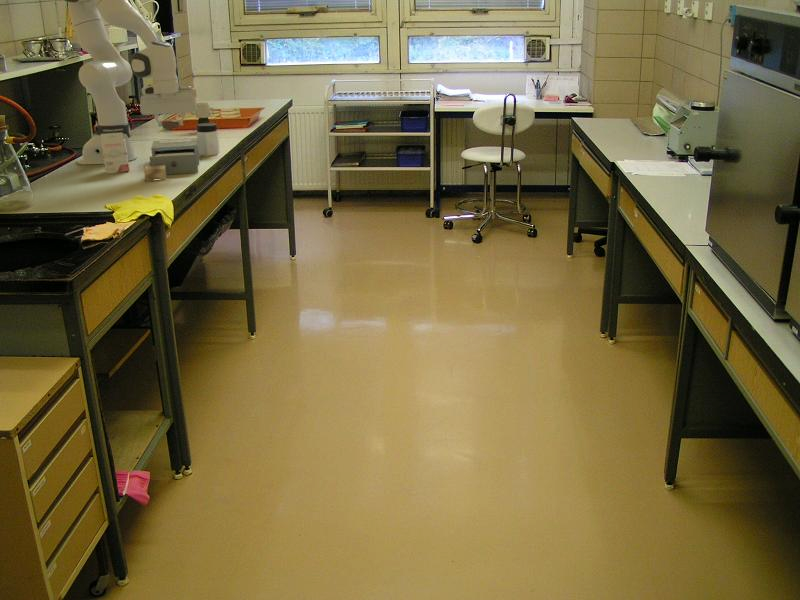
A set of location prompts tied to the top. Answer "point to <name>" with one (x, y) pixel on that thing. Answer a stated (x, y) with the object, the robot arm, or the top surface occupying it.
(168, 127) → the puck
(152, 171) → the block
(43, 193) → the top surface
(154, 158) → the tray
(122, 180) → the top surface
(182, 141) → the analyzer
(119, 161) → the ink cartridge box
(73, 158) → the top surface
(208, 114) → the character mug
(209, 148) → the jar
